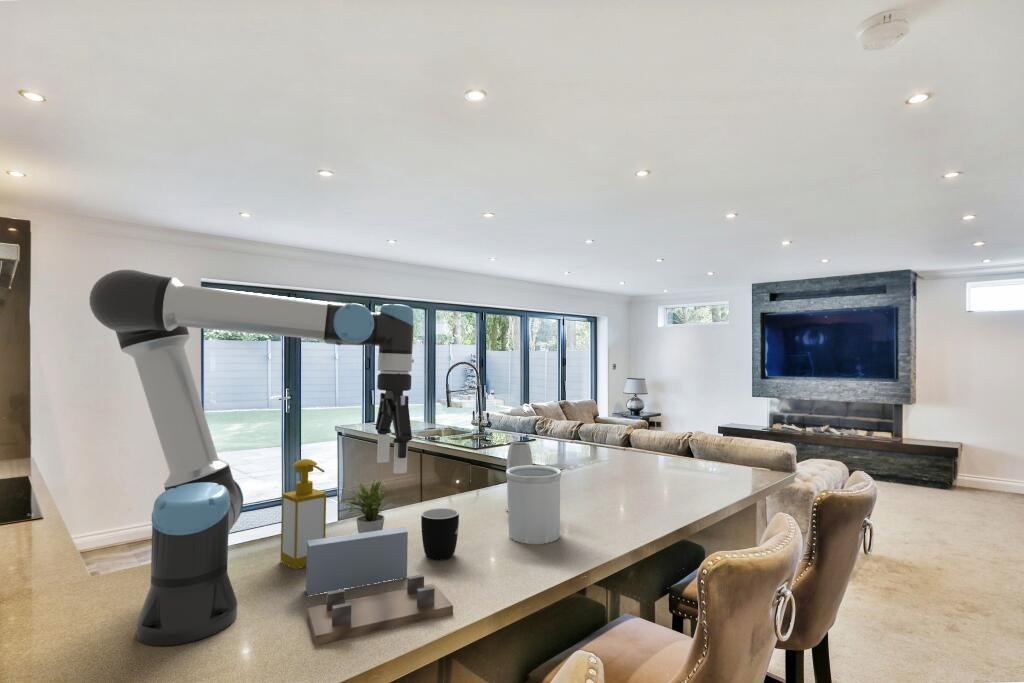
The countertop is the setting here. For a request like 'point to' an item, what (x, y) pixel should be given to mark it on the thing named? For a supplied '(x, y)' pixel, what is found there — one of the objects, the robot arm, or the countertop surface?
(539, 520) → the utensil holder
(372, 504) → the house plant
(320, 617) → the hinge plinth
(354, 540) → the door panel
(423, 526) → the mug
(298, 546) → the soap bottle
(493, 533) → the countertop surface
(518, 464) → the wineglass
